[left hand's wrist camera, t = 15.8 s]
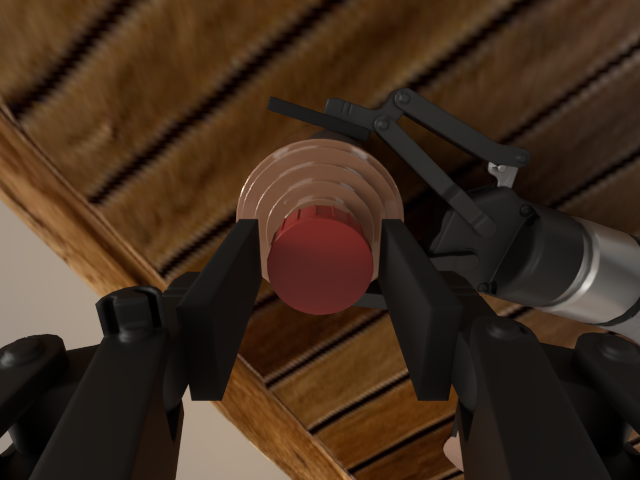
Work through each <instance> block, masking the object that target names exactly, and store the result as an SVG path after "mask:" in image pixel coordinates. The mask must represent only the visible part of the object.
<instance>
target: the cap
mask: <svg viewBox="0 0 640 480" xmlns="http://www.w3.org/2000/svg"><path fill="white" fill-rule="evenodd" d="M270 245H272V246H271V249H270V252H269V255H268V258H267V272H268V277H269V281H270V283H271V286H272V287H273V289H274V291H275V292H276V294H277V295H278V296H279V297H280V298H281V299H282V300H283V301H284V302H285V303H286V304H288V305H289V306H291V307H293V308H295V309H297V310H299V311H302V312H305V313H310V314H318V315H320V314H331V313H335V312H339V311H341V310H344V309H346V308H348V307H350V306H351V305H353V304H354V303H355V302H357V301H358V300H359V299H360V298H361V297H362V296H363V294H364V293H365V292H366V290H367V289H368V287H369V284H370V282H371V279H372V275H373V257H372V248H371V246H370V243H369V240H368V238H367V239H366V236H365V233H364V230H363V227H362V225H361V224H359V223H358V222H357V221H356V220H355V219H354V218H353V217H352V216H351V215H350V213H349V212H348V213H346V212H345V211H343V210H341V209H338V208H335V207H334V206H333V205H332V206H324V205H316V204H314V206H309V207H306V208H302V209H297V211H296V212H294V213H293V214H291V215H290V216H289V217H287V218H286V219H285V218H284V219H283V222H282V224H281V225H280V227H279V228H278V230H277V232H275V233H274V236H273V239H272V241H271V244H270Z"/></svg>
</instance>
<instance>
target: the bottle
mask: <svg viewBox="0 0 640 480" xmlns="http://www.w3.org/2000/svg"><path fill="white" fill-rule="evenodd" d="M314 204H316V205H324V206H332V205H333V206H334V207H335V208H338V209H341V210H343V211H345V212H346V213H348V212H349V213H350V215H351V216H352V217H353V218H354V219H355V220H356V221H357V222H358V223H359V224H361V225H362V227H363V230H364V233H365V236H366V239H367V238H368V240H369V243H370V246H371V248H372V257H373V275H372V279H371V282H372V281H373V280H374V279H375V278H377V277H378V268H379V253H380V238H381V223H382V219H401V220H402V221H403V223H404V209H403V204H402V199H401V196H400V193H399V190H398V187H397V185H396V184H395V182H394V180H393V178H392V176H391V175H390V174H389V172H388V171H387V169H386V168H385V167H384V166H383V165H382V164H381V163H380V162H379V161H378V160H377V159H376V158H375V157H374V156H373V155H372V154H370V153H369V152H368V151H367V150H366V149H365V148H364V147H363V146H362V145H361V144H360V143H358V142H357V141H356V140H355V139H354V138H353V137H350V136H347V135H343V134H341V133H337V132H334V131H331V130H328V129H325V128H322V127H319V126H316V125H310V126H307V127H303V128H301V129H299V130H297V131H295V132H294V133H292V134H291V135H290V136H289V137H287V138H286V139H285V140H284V141H283V142H282V143H281V144H280V145H279V146H278V147H276V148H275V149H274V150H273V151H272V152H271V153H270V154H269V155H268V156H267V157H266V158H265V159H264V160H262V161H261V162H260V163H259V165H258V166H257V167H256V168H255V169H254V170H253V171H252V173H251V174H250V176H249V177H248V179H247V180H246V182H245V184H244V186H243V188H242V191H241V194H240V197H239V200H238V206H237V216H236V223H237V221H238V220H239V219H258V223H259V238H260V253H261V268H262V276H263V277H264V278H265V279H266V280H267V281H269V277H268V272H267V258H268V255H269V252H270V249H271V246H272V245H270V244H271V241H272V239H273V236H274V233H275V232H277V230H278V228H279V227H280V225H281V224H282V222H283V219H284V218H285V219H286V218H287V217H289V216H290V215H291V214H293V213H294V212H296V211H297V209H302V208H306V207H309V206H314ZM269 282H270V281H269Z"/></svg>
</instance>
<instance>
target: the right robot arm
mask: <svg viewBox="0 0 640 480" xmlns="http://www.w3.org/2000/svg"><path fill="white" fill-rule="evenodd" d="M267 109H268V110H271V111H274V112H277V113H280V114H283V115H286V116H289V117H292V118H295V119H298V120H301V121H304V122H307V123H310V124H313V125H316V126H319V127H322V128H325V129H328V130H331V131H334V132H337V133H341V134H343V135H347V136H350V137H353V138H356V139H359V140H362V141H365V142H367V141H368V138H369V135H370V132H371V131H373V132H374V133H375V134H376V135H377V136H378V137H379V138H380V139H381V140H382V141H383V142H384V143H385V144H386V145H387V146H388V147H389V148H390V149H391V150H392V151H393V152H394V153H395V154H396V155H397V156H398V157H399V158H400V159H401V160H402V161H403V162H404V163H405V164H406V165H407V166H408V167H409V168H410V169H411V170H412V171H413V172H414V173H415V174H416V175H417V176H418V177H419V178H420V179H421V180H422V181H423V182H424V183H425V184H426V185H427V186H428V187H429V188H430V189H431V190H432V191H433V192H434V193H435V194H436V195H437V196H438V197H439V198H440V199H441V200H442V202H441V204H440V203H438V204H437V206H436V208H435V210H434V213H433V219H432V223H431V224H430V226H429V227H428V228H427V229H426V231H425V233H424V235H423V237H422V239H421V240H420V241H417V242H418V244H419V245H420V246H421V248H422V249H423V251H424V252H425V253H426V255H427V256H428V258H429V259H430V260H431V262H432V263H433V264H434V266H435V267H436V269H437V270H438V271H454V272H456V273H458V274H459V275H461V276H463V277H465V278H466V279H467V280H468V281H469V283H470V284H471V285H472V286H473V288H475V290H476V291H478V292H481V293H484V294H487V295H490V296H493V297H496V298H500V299H503V300H507V301H510V302H514V303H517V304H520V305H524V306H528V307H534V308H536V309H537V310H540V311H544V312H547V313H551V314H555V315H558V316H562V317H566V318H569V319H573V320H576V321H580V322H583V323H586V324H589V325H594V326H597V327H600V328H604V329H607V330H610V331H613V332H616V333H620V334H622V335H624V336H626V337H629V338H630V339H632V340H634V341H635V342H637V343H638V344H639V345H640V238H637V237H634V236H632V235H630V234H627V233H624V232H621V231H618V230H615V229H612V228H609V227H606V226H603V225H600V224H597V223H594V222H591V221H588V220H585V219H582V218H579V217H575V216H570V215H568V214H566V213H564V212H561V211H558V210H555V209H552V208H549V207H546V206H543V205H540V204H537V203H534V202H531V201H528V200H525V199H522V198H520V197H519V196H518V195H517V194H516V193H515V191H514V190H513V189H511V188H512V185H513V182H514V179H515V176H516V173H517V171H518V168H522V167H524V166H526V165H527V164H528V163H529V162H530V160H531V154H530V152H529V151H528V150H526V149H522V148H518V147H513V146H508V145H502V144H497V143H496V142H494V141H493V140H491V139H489V138H488V137H486V136H485V135H483V134H481V133H480V132H478V131H477V130H475V129H473V128H472V127H470V126H469V125H467V124H465V123H464V122H462V121H461V120H459V119H457V118H456V117H454V116H453V115H451V114H449V113H448V112H446V111H445V110H443V109H441V108H440V107H438V106H436V105H435V104H433V103H432V102H430V101H428V100H427V99H425V98H424V97H422V96H420V95H419V94H417V93H416V92H414V91H412V90H411V89H408V88H402V89H397V90H394V91H392V92H391V93H390V94H389V96H388V98H387V100H386V101H385V102H384V103H383V105H382V106H381V107H380V108H378V109H376V110H371V109H368V108H365V107H362V106H359V105H356V104H353V103H350V102H347V101H344V100H341V99H338V98H330V99H327V103H326V106H325V109H324V113H320V112H317V111H314V110H311V109H308V108H305V107H302V106H299V105H296V104H293V103H290V102H287V101H284V100H281V99H278V98H274V97H270V100H269V104H268V108H267ZM402 114H403V115H404V116H406V117H408V118H409V119H411V120H413V121H414V122H416V123H418V124H419V125H421V126H423V127H424V128H426V129H428V130H429V131H431V132H433V133H434V134H436V135H437V136H439V137H441V138H442V139H444V140H446V141H447V142H449V143H451V144H452V145H454V146H456V147H457V148H459V149H461V150H462V151H464V152H466V153H467V154H469V155H471V156H473V157H476V158H479V159H482V160H483V162H482V168H483V170H484V171H485V172H486V173H488V174H490V175H491V177H492V183H490V184H487V185H484V186H480V187H477V188H474V189H471V190H468V191H465V192H464V191H463V190H462V189H461V188H460V187H459V186H458V185H456V184H455V183H454V182H453V181H452V180H451V179H450V178H449V177H448V176H447V175H446V174H445V172H444V171H443V170H442V169H441V168H440V167H439V166H438V165H437V164H436V163H435V162H434V161H433V160H432V159H431V158H430V157H429V156H428V155H427V154H426V153H425V152H424V151H423V150H422V149H421V148H420V147H419V146H418V145H417V144H416V143H415V142H414V141H413V139H412V138H411V137H410V136H409V135H408V134H407V133H406V132H405V131H404V130H403V129H402V128H401V127H400V126H399V125H398V124H397V123H396V122H397V121H398V119H399V118H400V117H401V116H402ZM351 306H358V307H369V308H379V309H387V306H386V303H385V300H384V297H383V294H382V291H381V288H380V285H379V282H378V280H373V281H372V282H370V284H369V287H368V289H367V290H366V292H365V293H364V294H363V296H362V297H361V298H360V299H359V300H358V301H357V302H355V303H354V304H353V305H351Z"/></svg>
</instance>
